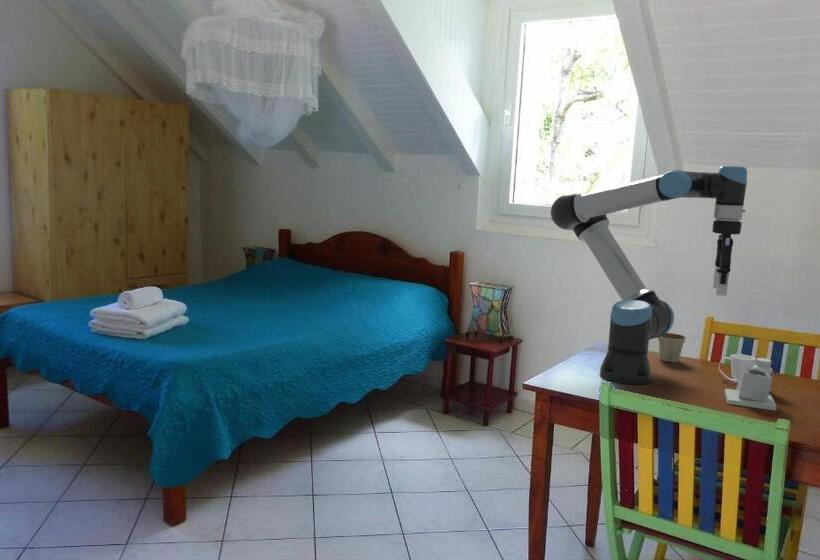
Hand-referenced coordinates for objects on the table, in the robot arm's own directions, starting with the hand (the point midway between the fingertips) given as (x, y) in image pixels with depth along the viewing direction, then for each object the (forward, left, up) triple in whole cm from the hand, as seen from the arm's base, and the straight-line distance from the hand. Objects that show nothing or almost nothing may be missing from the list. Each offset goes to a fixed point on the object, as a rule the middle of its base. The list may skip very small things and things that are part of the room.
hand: (719, 291), depth 200 cm
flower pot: (-11, +25, -29) cm, 40 cm away
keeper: (+10, -11, -29) cm, 32 cm away
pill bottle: (+14, +1, -29) cm, 32 cm away
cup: (+8, +9, -29) cm, 31 cm away
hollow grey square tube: (+10, -11, -27) cm, 31 cm away
